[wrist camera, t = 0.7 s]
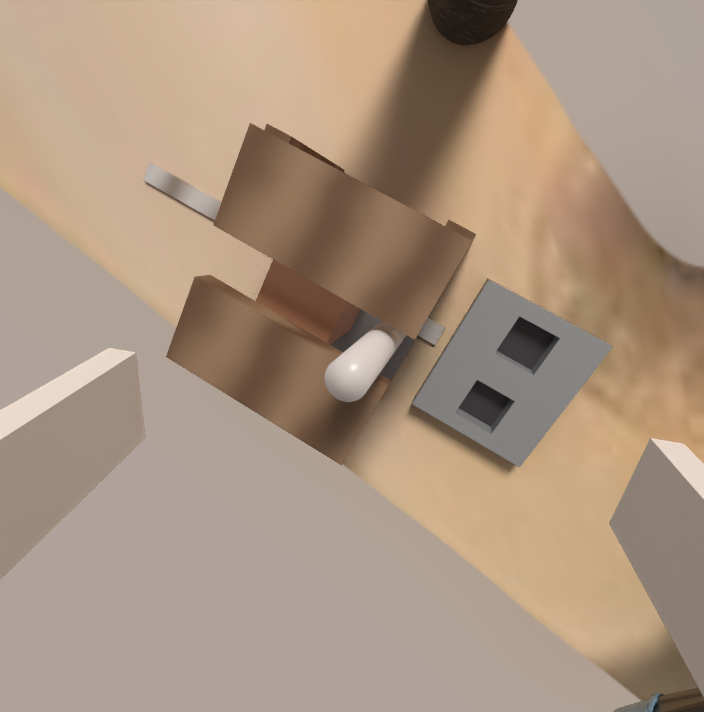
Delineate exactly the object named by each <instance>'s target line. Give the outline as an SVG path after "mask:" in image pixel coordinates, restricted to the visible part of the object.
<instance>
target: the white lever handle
mask: <svg viewBox="0 0 704 712" xmlns="http://www.w3.org/2000/svg"><path fill="white" fill-rule="evenodd" d="M256 302H258V303H259V304H261V305H263V306H264V307H266V308H268V309H270V310H271V311H273V312H275V313H276V314H278V315H280V316H281V317H283V318H285V319H287V320H288V321H290V322H292V323H293V324H295V325H297V326H299V327H300V328H302V329H304V330H305V331H307V332H309V333H311V334H312V335H314V336H316V337H317V338H319V339H321V340H323V341H324V342H326V343H328V344H329V345H331V346H333V347H335V348H336V349H338V350H340V351H341V352H343V353H342V354H341V355H340V356H339V357H338V358H336V359H335V360H334V361H333V362H332V363H331V364H330V365H329V366H328V367H327V369H326V372H325V385H326V387H327V389H328V391H329V392H330V394H331V395H332V396H334V397H335V398H336V399H338V400H340V401H344V402H353V401H356V400H359V399H360V398H362V397H363V396H364V395H365V393H366V392H367V390H368V389H369V388H370V386H371V385H372V383H373V382H374V380H375V379H376V378H377V376H378V375H379V374H381V375H383V376H384V377H386V378H388V379H389V380H392V378H393V376H394V374H395V373H396V371H397V369H398V368H399V366H400V364H401V362H402V361H403V359H404V357H405V356H406V354H407V352H408V350H409V349H410V347H411V345H412V344H413V342H414V339H413V338H411V337H409V336H407V335H406V334H404V333H402V332H400V331H399V330H397V329H395V328H393V327H392V326H390V325H388V324H386V323H385V322H383V321H381V320H379V319H378V318H376V317H374V316H372V315H370V314H369V313H367V312H365V311H363V310H362V309H360V308H358V307H356V306H355V305H353V304H351V303H349V302H348V301H346V300H344V299H342V298H341V297H339V296H337V295H335V294H334V293H332V292H330V291H328V290H327V289H325V288H323V287H321V286H319V285H318V284H316V283H314V282H312V281H311V280H309V279H307V278H305V277H304V276H302V275H300V274H298V273H297V272H295V271H293V270H291V269H290V268H288V267H286V266H284V265H283V264H281V263H279V262H277V261H275V260H274V259H273V262H272V264H271V266H270V269H269V271H268V273H267V276H266V278H265V280H264V283H263V285H262V288H261V290H260V292H259V295H258V297H257V299H256Z"/></svg>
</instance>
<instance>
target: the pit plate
mask: <svg viewBox="0 0 704 712" xmlns="http://www.w3.org/2000/svg"><path fill="white" fill-rule="evenodd" d="M612 347H613V346H611V345H610V344H608V343H607V342H605V341H603V340H601V339H600V338H598V337H596V336H594V335H592V334H590V333H588V332H587V331H585V330H583V329H581V328H579V327H577V326H575V325H574V324H572V323H570V322H568V321H566V320H564V319H562V318H561V317H559V316H557V315H555V314H553V313H551V312H550V311H548V310H546V309H544V308H542V307H540V306H538V305H537V304H535V303H533V302H531V301H529V300H527V299H525V298H524V297H522V296H520V295H518V294H516V293H514V292H512V291H511V290H509V289H507V288H505V287H503V286H501V285H499V284H498V283H496V282H494V281H492V280H490V279H487V280H486V282H485V284H484V285H483V287H482V289H481V290H480V292H479V293H478V295H477V297H476V298H475V300H474V302H473V303H472V305H471V306H470V308H469V310H468V311H467V313H466V314H465V316H464V318H463V319H462V321H461V323H460V324H459V326H458V327H457V329H456V331H455V332H454V334H453V336H452V337H451V339H450V340H449V342H448V344H447V345H446V347H445V349H444V350H443V352H442V353H441V355H440V357H439V358H438V360H437V362H436V363H435V365H434V366H433V368H432V370H431V371H430V373H429V375H428V376H427V378H426V379H425V381H424V383H423V384H422V386H421V387H420V389H419V391H418V392H417V394H416V396H415V397H414V400H413V403H412V404H413V405H414V406H416V407H418V408H419V409H421V410H423V411H425V412H426V413H428V414H430V415H431V416H433V417H435V418H436V419H438V420H440V421H442V422H443V423H445V424H447V425H448V426H450V427H452V428H453V429H455V430H457V431H459V432H460V433H462V434H464V435H465V436H467V437H469V438H471V439H472V440H474V441H476V442H477V443H479V444H481V445H482V446H484V447H486V448H488V449H489V450H491V451H493V452H494V453H496V454H498V455H499V456H501V457H503V458H505V459H506V460H508V461H510V462H511V463H513V464H515V465H516V466H518V467H520V466H521V465H522V464H523V462H524V461H525V460H526V459H527V457H528V456H529V455H530V453H531V452H532V451H533V449H534V448H535V447H536V446H537V444H538V443H539V442H540V440H541V439H542V438H543V437H544V435H545V434H546V433H547V431H548V430H549V429H550V427H551V426H552V425H553V424H554V422H555V421H556V420H557V418H558V417H559V416H560V415H561V413H562V412H563V411H564V409H565V408H566V407H567V405H568V404H569V403H570V402H571V400H572V399H573V398H574V396H575V395H576V394H577V393H578V391H579V390H580V389H581V387H582V386H583V385H584V383H585V382H586V381H587V380H588V378H589V377H590V376H591V374H592V373H593V372H594V371H595V369H596V368H597V367H598V365H599V364H600V363H601V361H602V360H603V359H604V358H605V356H606V355H607V354H608V352H609V351H610V350H611V348H612Z"/></svg>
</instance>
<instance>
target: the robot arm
mask: <svg viewBox="0 0 704 712" xmlns="http://www.w3.org/2000/svg"><path fill="white" fill-rule="evenodd" d="M144 439H145V430H144V421H143V412H142V402H141V393H140V385H139V375H138V366H137V356H136V352H130V351H124V350H118V349H112V348H108V349H106V350H105V351H103V352H101V353H99V354H98V355H96V356H94V357H93V358H91V359H89V360H87V361H86V362H84V363H82V364H80V365H79V366H77V367H75V368H73V369H72V370H70V371H68V372H66V373H65V374H63V375H61V376H59V377H58V378H56V379H54V380H52V381H51V382H49V383H47V384H45V385H44V386H42V387H40V388H38V389H37V390H35V391H33V392H31V393H30V394H28V395H26V396H24V397H23V398H21V399H19V400H17V401H16V402H14V403H12V404H10V405H9V406H7V407H5V408H3V409H2V410H0V580H1V579H2V578H3V577H4V576H5V575H6V574H7V573H8V572H9V571H10V570H11V569H12V568H13V567H14V566H15V565H16V564H17V563H18V562H19V561H20V560H21V559H22V558H23V557H24V556H25V555H26V554H27V553H28V552H29V551H30V550H31V549H32V548H33V547H34V546H36V545H37V544H38V542H40V541H41V540H42V539H43V538H44V537H45V536H46V535H47V534H48V533H49V532H50V531H51V530H52V529H53V528H54V527H55V526H56V525H57V524H58V523H59V522H60V521H61V520H62V519H63V518H64V517H65V516H66V515H67V514H68V513H69V512H70V511H71V510H72V509H73V508H74V507H75V506H76V505H77V504H78V503H79V502H80V501H81V500H82V499H84V498H85V497H86V496H87V495H88V494H89V493H90V492H91V491H92V490H93V489H94V488H95V487H96V486H97V485H98V484H99V483H100V482H101V481H102V480H103V479H104V478H105V477H106V476H107V475H108V474H109V473H110V472H111V471H112V470H113V469H114V468H115V467H116V466H117V465H118V464H119V463H120V462H121V461H122V460H123V459H124V458H125V457H126V456H127V455H129V454H130V453H131V452H132V451H133V450H134V449H135V448H136V447H137V446H138V445H139V444H140V443H141V442H142V441H143V440H144ZM609 524H610V526H611V528H612V529H613V531H614V533H615V535H616V537H617V539H618V541H619V542H620V544H621V546H622V548H623V550H624V552H625V553H626V555H627V557H628V559H629V561H630V563H631V564H632V566H633V568H634V570H635V572H636V574H637V576H638V577H639V579H640V581H641V583H642V585H643V587H644V588H645V590H646V592H647V594H648V596H649V598H650V599H651V601H652V603H653V605H654V607H655V609H656V610H657V612H658V614H659V616H660V618H661V620H662V622H663V623H664V625H665V627H666V629H667V631H668V633H669V634H670V636H671V638H672V640H673V642H674V644H675V645H676V647H677V649H678V651H679V653H680V655H681V657H682V658H683V660H684V662H685V664H686V666H687V668H688V669H689V671H690V673H691V675H692V677H693V679H694V680H695V682H696V684H697V686H698V688H695V689H691V690H686V691H682V692H677V693H673V694H668V695H664V694H662V693H657V694H654V695H652V696H651V697H650V699H648V700H644V701H641V702H638V703H634V704H631V705H628V706H625V707H621V708H618V709H617V710H615V711H614V712H704V464H703V463H702V462H701V461H700V460H699V459H698V458H697V457H696V456H695V455H694V454H693V453H692V452H691V451H690V450H689V448H688V447H687V446H686V445H685V444H683V443H677V442H671V441H665V440H659V439H653V438H650V440H649V442H648V444H647V446H646V448H645V450H644V452H643V454H642V457H641V459H640V461H639V463H638V465H637V467H636V469H635V471H634V473H633V475H632V477H631V479H630V481H629V483H628V486H627V488H626V490H625V492H624V494H623V496H622V498H621V500H620V502H619V504H618V506H617V508H616V510H615V513H614V515H613V517H612V519H611V521H610V523H609Z"/></svg>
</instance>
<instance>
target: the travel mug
mask: <svg viewBox="0 0 704 712" xmlns="http://www.w3.org/2000/svg"><path fill="white" fill-rule="evenodd" d="M428 3H429V8H430V12H431V16H432V18H433V21H434V24H435V26H436V27H437V29H438V30H439V32H440V33H441V34H442V35H443V36H444V37H445V38H447V39H448V40H450V41H452V42H454V43H457V44H463V45H470V44H476V43H480V42H482V41H485V40H487V39H488V38H490V37H492V36H493V35H494V34H496V33H497V32H498V31H499V30H500V29H501V28H502V27H503V26H504V25H505V23H506V22H507V21H508V19H509V18H510V16H511V14H512V12H513V11H514V8H515V6H516V3H517V0H428Z"/></svg>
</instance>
